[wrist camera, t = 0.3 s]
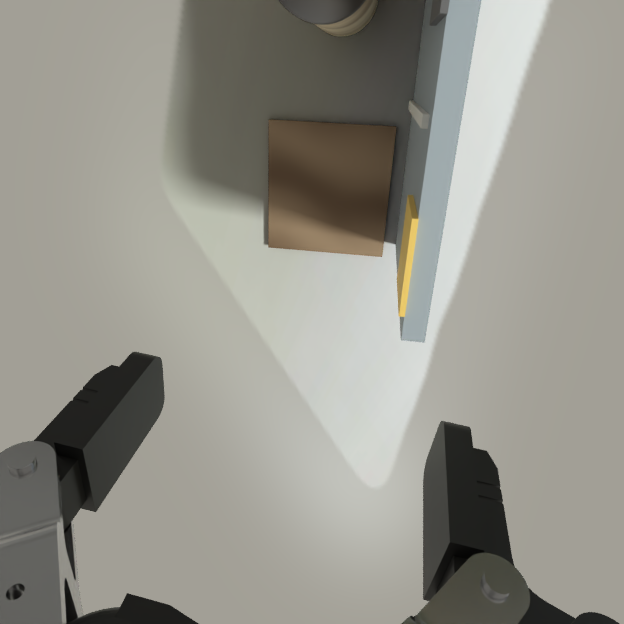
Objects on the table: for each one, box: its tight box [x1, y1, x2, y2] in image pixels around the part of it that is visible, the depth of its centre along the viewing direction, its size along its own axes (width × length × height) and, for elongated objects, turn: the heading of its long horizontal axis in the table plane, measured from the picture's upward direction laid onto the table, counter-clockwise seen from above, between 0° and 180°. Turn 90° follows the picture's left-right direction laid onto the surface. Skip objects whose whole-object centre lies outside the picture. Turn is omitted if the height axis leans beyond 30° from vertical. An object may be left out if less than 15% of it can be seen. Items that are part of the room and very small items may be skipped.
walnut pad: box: [268, 119, 396, 257], centre depth 38 cm, size 10×10×1 cm
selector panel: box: [396, 0, 481, 342], centre depth 27 cm, size 22×2×16 cm, turn 178°
